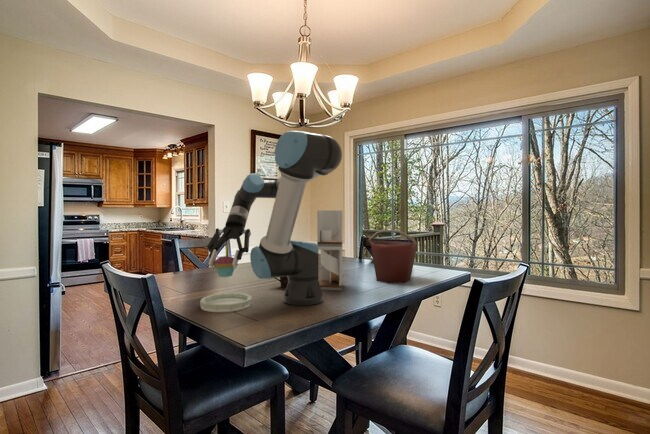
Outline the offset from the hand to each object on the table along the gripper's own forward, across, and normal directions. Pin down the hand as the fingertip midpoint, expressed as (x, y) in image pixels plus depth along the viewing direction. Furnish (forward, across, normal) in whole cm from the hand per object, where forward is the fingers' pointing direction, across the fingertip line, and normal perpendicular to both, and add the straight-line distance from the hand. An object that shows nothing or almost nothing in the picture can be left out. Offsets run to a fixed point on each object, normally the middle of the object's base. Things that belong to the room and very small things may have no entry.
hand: (222, 266), depth 127 cm
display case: (-15, -36, -37) cm, 54 cm away
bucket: (-29, -67, -51) cm, 89 cm away
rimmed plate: (+9, 0, -13) cm, 15 cm away
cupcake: (+1, 0, -5) cm, 5 cm away
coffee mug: (-15, -16, -36) cm, 42 cm away
